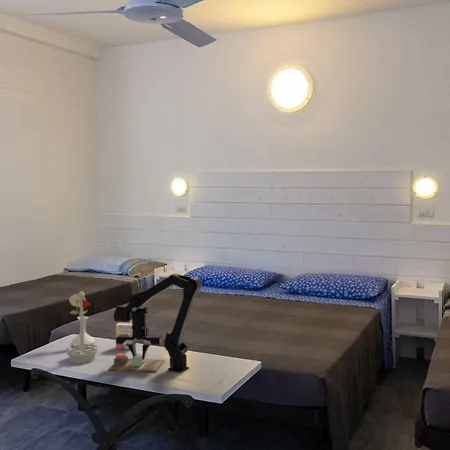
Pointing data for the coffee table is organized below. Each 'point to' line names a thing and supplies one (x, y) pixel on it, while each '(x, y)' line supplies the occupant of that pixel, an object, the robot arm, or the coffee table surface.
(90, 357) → the flag stand
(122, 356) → the button
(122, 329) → the ink cartridge box
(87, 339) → the flower in vase
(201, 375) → the coffee table surface
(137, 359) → the block
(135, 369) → the brown control panel
